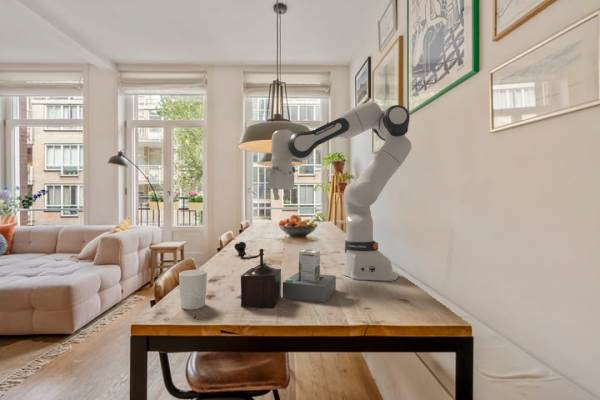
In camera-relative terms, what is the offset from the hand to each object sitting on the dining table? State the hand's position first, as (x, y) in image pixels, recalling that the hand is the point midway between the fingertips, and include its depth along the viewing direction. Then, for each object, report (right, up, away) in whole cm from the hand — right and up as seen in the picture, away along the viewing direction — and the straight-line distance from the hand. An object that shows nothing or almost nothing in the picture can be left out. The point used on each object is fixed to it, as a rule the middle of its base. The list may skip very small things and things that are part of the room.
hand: (281, 199), depth 134 cm
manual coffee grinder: (-6, -32, -37) cm, 49 cm away
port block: (+11, -31, -30) cm, 45 cm away
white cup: (-24, -32, -41) cm, 57 cm away
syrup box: (+11, -32, -30) cm, 45 cm away
